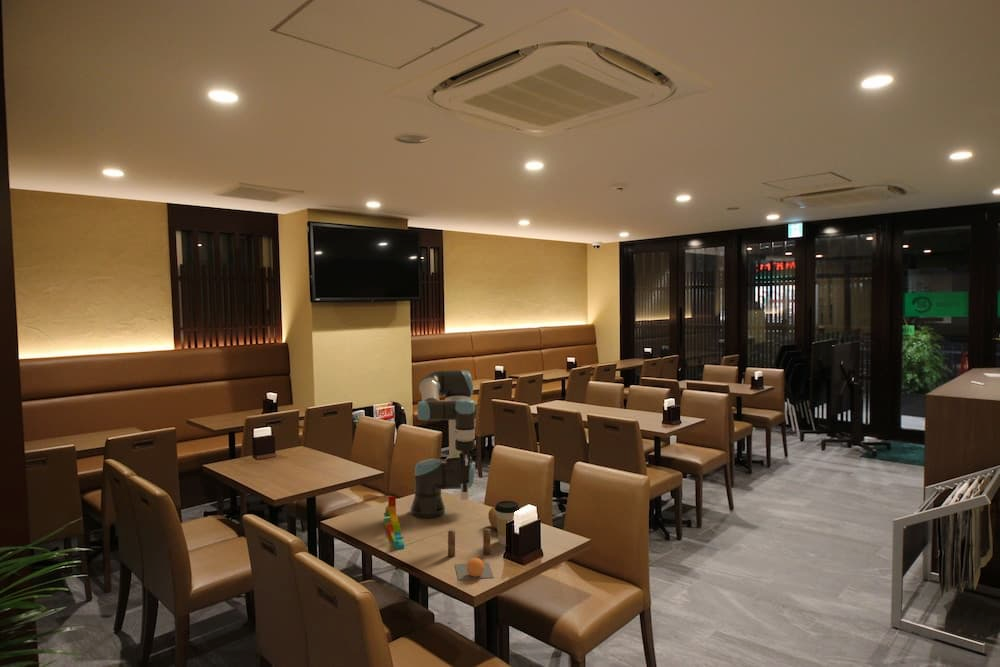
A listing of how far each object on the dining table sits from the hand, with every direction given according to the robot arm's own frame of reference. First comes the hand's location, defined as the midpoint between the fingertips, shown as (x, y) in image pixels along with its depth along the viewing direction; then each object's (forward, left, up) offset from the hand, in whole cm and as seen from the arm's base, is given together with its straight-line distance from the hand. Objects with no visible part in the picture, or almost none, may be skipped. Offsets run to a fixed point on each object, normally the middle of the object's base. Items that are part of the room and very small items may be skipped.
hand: (464, 499), depth 229 cm
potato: (-10, +16, -17) cm, 26 cm away
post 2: (+14, +7, -17) cm, 23 cm away
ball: (+32, 0, -14) cm, 34 cm away
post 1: (+14, -6, -17) cm, 22 cm away
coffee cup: (+4, +16, -17) cm, 24 cm away
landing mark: (+28, 0, -17) cm, 32 cm away
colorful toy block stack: (-10, -27, -17) cm, 34 cm away
